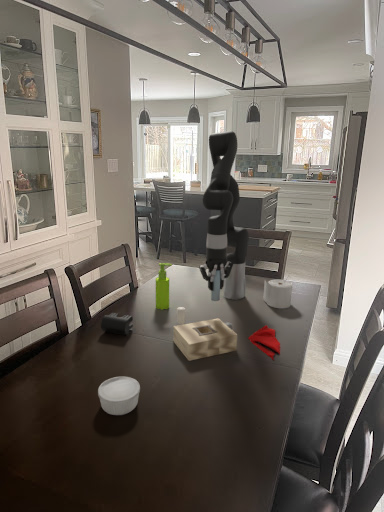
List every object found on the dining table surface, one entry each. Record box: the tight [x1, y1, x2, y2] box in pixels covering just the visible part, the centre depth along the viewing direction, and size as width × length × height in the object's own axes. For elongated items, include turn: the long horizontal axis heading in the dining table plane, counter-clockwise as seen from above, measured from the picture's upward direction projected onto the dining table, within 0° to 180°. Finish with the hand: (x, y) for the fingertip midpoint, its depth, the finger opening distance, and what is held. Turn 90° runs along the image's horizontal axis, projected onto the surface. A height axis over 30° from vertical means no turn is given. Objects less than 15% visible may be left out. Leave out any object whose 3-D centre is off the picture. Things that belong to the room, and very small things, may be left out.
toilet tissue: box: [263, 278, 293, 309], centre depth 171 cm, size 11×12×10 cm
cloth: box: [247, 324, 281, 361], centre depth 139 cm, size 26×14×2 cm, turn 163°
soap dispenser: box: [155, 262, 173, 311], centre depth 164 cm, size 6×7×20 cm
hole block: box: [172, 317, 238, 362], centre depth 134 cm, size 18×14×6 cm
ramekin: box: [97, 376, 141, 416], centre depth 103 cm, size 11×11×5 cm
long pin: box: [210, 270, 221, 302], centre depth 143 cm, size 3×3×12 cm
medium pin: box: [176, 306, 186, 326], centre depth 148 cm, size 3×3×8 cm
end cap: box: [100, 312, 134, 336], centre depth 142 cm, size 10×7×7 cm
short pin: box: [223, 321, 233, 330], centre depth 141 cm, size 3×3×5 cm
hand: (215, 289), depth 143 cm, fingers closed on long pin, 3 cm apart
